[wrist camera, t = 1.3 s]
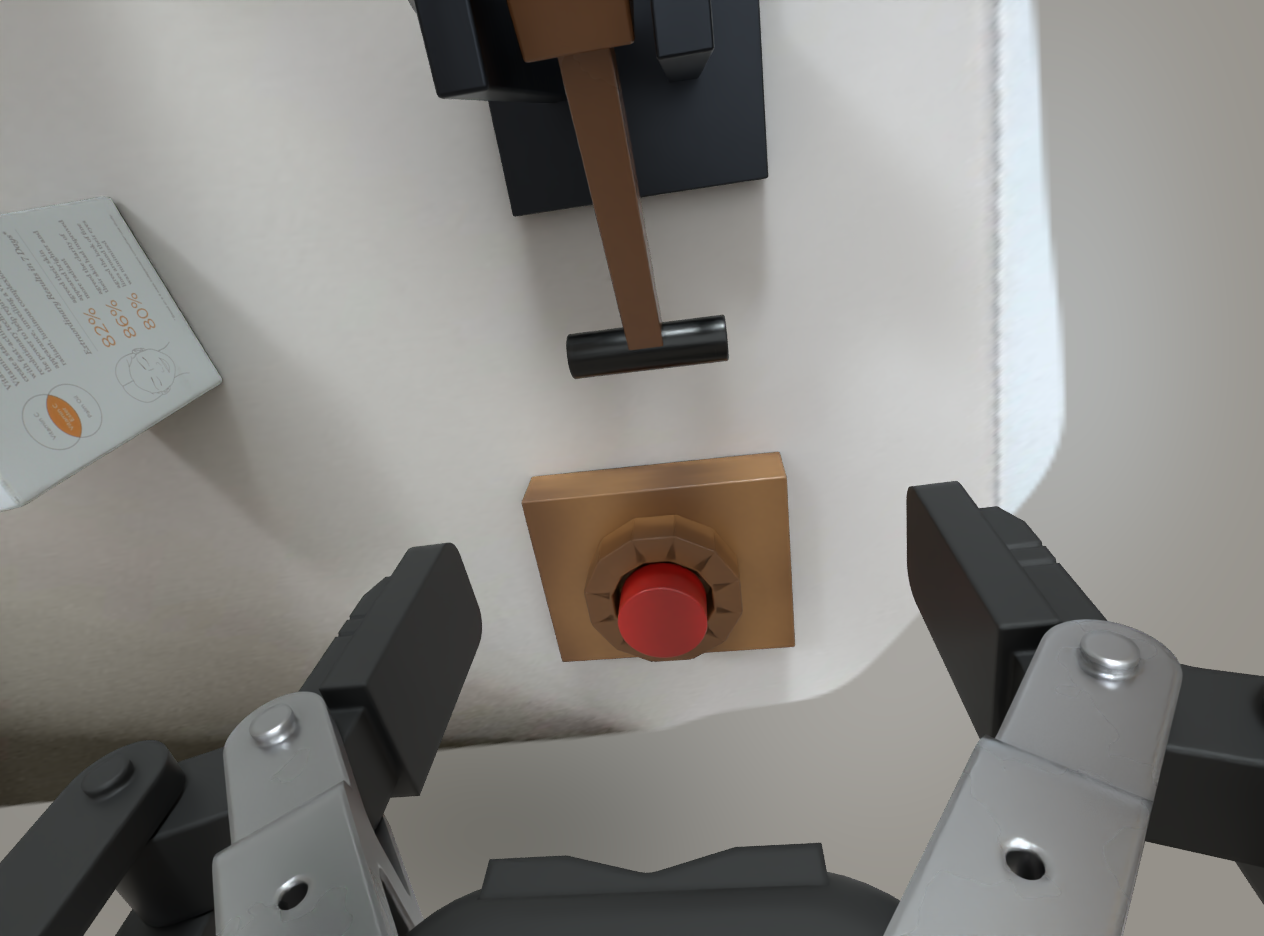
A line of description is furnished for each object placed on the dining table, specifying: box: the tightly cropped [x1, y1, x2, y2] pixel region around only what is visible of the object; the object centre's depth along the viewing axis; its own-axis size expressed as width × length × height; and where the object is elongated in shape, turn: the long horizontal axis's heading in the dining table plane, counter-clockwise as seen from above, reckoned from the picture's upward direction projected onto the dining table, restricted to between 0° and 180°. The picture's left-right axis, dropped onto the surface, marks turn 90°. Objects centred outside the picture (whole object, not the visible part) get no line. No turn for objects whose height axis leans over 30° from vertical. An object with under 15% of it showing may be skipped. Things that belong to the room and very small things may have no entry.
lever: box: [506, 0, 729, 379], centre depth 17 cm, size 13×5×2 cm
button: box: [618, 563, 708, 658], centre depth 28 cm, size 4×4×2 cm
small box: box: [0, 197, 222, 512], centre depth 23 cm, size 8×6×10 cm
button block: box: [522, 452, 795, 662], centre depth 30 cm, size 11×9×4 cm
